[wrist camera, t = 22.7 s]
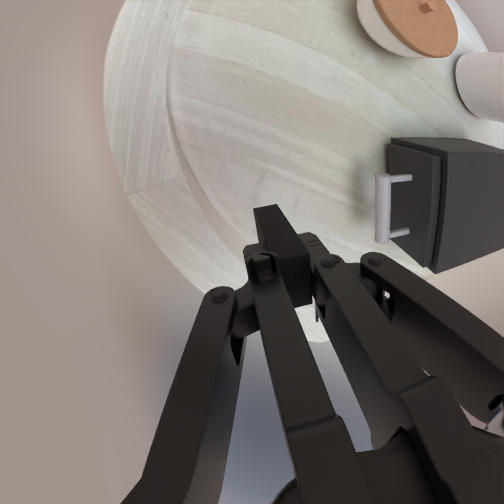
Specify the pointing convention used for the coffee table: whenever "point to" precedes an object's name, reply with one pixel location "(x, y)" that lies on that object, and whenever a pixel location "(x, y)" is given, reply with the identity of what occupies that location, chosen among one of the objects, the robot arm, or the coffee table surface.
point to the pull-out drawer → (409, 202)
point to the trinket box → (410, 26)
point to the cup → (482, 84)
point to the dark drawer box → (466, 199)
